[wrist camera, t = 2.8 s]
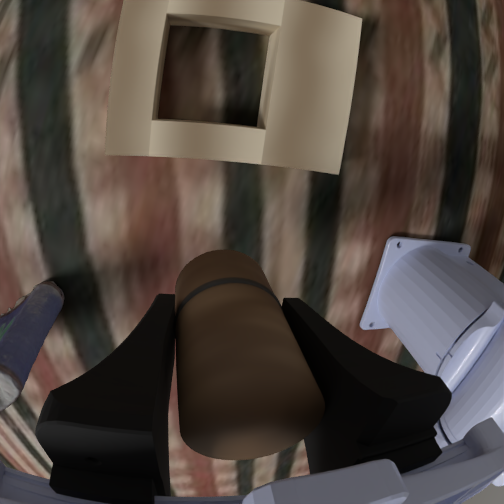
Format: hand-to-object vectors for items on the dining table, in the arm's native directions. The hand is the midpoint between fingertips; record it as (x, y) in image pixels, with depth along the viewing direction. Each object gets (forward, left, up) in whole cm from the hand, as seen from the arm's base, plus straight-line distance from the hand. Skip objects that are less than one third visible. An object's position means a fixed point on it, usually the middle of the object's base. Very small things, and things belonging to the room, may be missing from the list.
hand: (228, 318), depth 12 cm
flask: (+14, +7, -8) cm, 18 cm away
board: (0, -10, -8) cm, 12 cm away
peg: (0, 0, -2) cm, 2 cm away
